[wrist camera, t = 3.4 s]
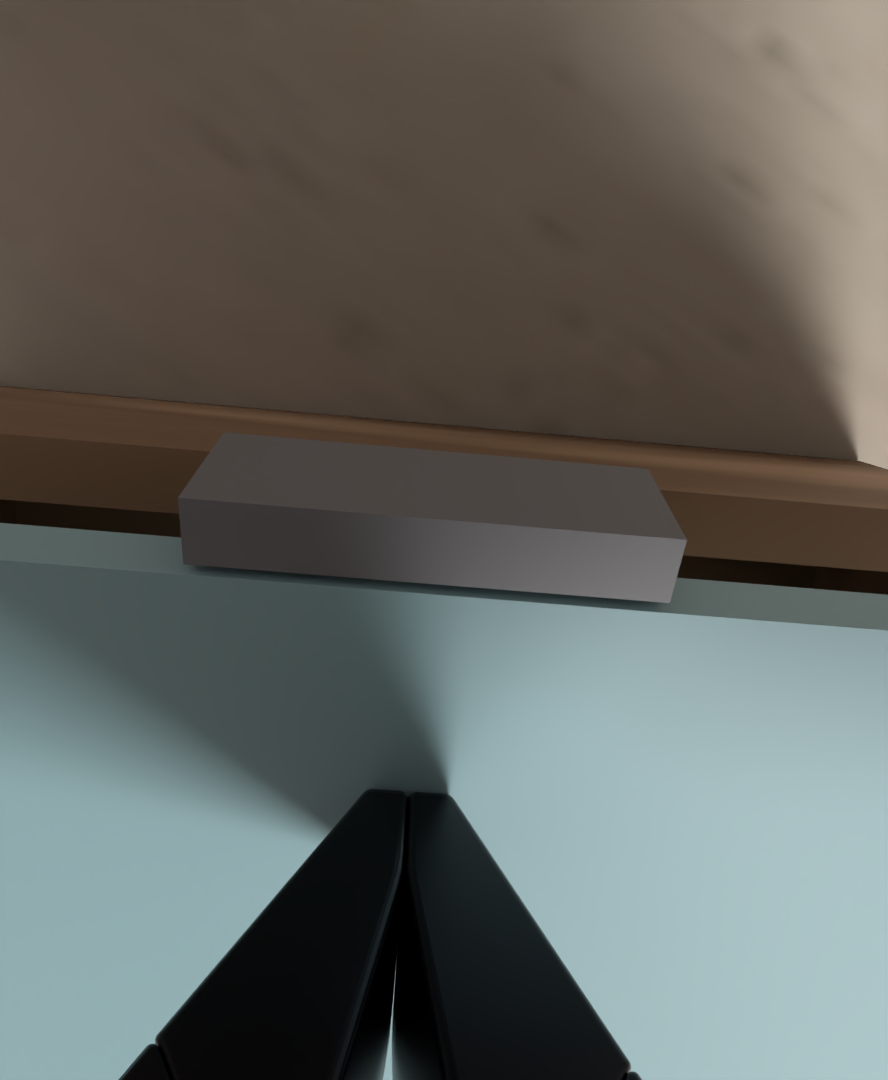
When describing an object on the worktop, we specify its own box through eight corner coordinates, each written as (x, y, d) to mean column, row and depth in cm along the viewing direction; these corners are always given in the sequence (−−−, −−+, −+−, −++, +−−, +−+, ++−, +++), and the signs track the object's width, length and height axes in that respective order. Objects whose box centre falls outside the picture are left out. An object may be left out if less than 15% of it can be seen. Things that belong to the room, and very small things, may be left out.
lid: (848, 1131, 13) (889, 1235, 12) (-117, 1078, 13) (-178, 1182, 11) (1253, 520, 8) (1407, 599, 6) (-448, 374, 7) (-634, 431, 6)
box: (749, 951, 17) (872, 1188, 13) (17, 904, 17) (-149, 1135, 12) (860, 461, 15) (1070, 525, 10) (-13, 385, 14) (-247, 413, 9)
